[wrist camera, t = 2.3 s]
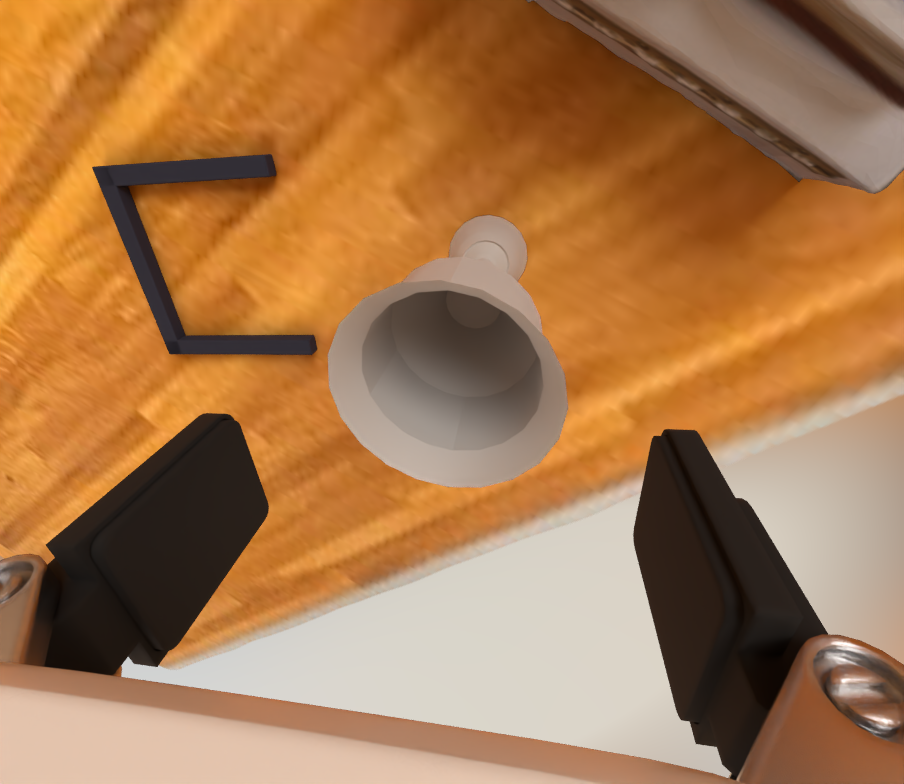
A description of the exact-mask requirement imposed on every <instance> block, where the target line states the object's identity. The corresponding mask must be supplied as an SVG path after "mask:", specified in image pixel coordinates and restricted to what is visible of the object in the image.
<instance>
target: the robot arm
mask: <svg viewBox="0 0 904 784" xmlns="http://www.w3.org/2000/svg"><path fill="white" fill-rule="evenodd" d="M268 509H269V505H268V501H267V499H266V496H265V493H264V490H263V488H262V485H261V482H260V479H259V476H258V474H257V471H256V468H255V465H254V463H253V460H252V457H251V454H250V451H249V449H248V446H247V443H246V440H245V437H244V435H243V432H242V429H241V426H240V424H239V423H238V422H237V421H235V420H234V418H233V417H232V416H231V415H228V414H212V413H206V414H202V415H200V416H199V417H197V418H196V419H195V420H194V421H193V422H191V423H190V424H189V425H188V426H187V427H185V428H184V429H183V430H182V431H181V432H180V433H178V434H177V435H176V436H175V437H174V438H172V439H171V440H170V441H169V442H168V443H166V444H165V445H164V446H163V447H162V448H160V449H159V450H158V451H157V452H156V453H155V454H153V455H152V456H151V457H150V458H149V459H147V460H146V461H145V462H144V463H143V464H141V465H140V466H139V467H138V468H137V469H135V470H134V471H133V472H132V473H131V474H129V475H128V476H127V477H126V478H125V479H124V480H122V481H121V482H120V483H119V484H118V485H116V486H115V487H114V488H113V489H112V490H110V491H109V492H108V493H107V494H106V495H104V496H103V497H102V498H101V499H100V500H99V501H97V502H96V503H95V504H94V505H93V506H91V507H90V508H89V509H88V510H87V511H85V512H84V513H83V514H82V515H81V516H79V517H78V518H77V519H76V520H75V521H73V522H72V523H71V524H70V525H69V526H68V527H66V528H65V529H64V530H63V531H62V532H60V533H59V534H58V535H57V536H56V537H54V538H53V539H52V540H51V541H50V542H48V543H47V544H46V546H47V547H48V549H49V550H50V551H51V553H52V554H53V555H54V557H55V559H53V560H52V561H51V562H50V563H49V564H48V565H47V564H46V562H45V561H44V560H43V559H42V558H41V557H40V556H38V555H33V554H23V555H16V556H13V557H9V558H6V559H3V560H0V784H904V665H903V664H902V663H900V662H899V661H897V660H895V659H894V658H892V657H891V656H889V655H888V654H886V653H885V652H883V651H882V650H880V649H877V648H875V647H873V646H871V645H869V644H866V643H864V642H862V641H860V640H856V639H852V638H849V637H845V636H841V635H828V633H827V631H826V630H825V628H824V627H823V625H822V623H821V621H820V620H819V618H818V617H817V615H816V613H815V612H814V610H813V608H812V606H811V605H810V603H809V601H808V600H807V598H806V597H805V595H804V593H803V591H802V590H801V588H800V587H799V585H798V583H797V582H796V580H795V578H794V577H793V575H792V573H791V572H790V570H789V568H788V567H787V565H786V563H785V562H784V560H783V558H782V557H781V555H780V553H779V552H778V550H777V548H776V547H775V545H774V543H773V542H772V540H771V538H770V537H769V535H768V533H767V532H766V530H765V528H764V527H763V525H762V523H761V522H760V520H759V518H758V517H757V515H756V513H755V512H754V510H753V509H752V507H751V506H750V505H749V503H748V502H747V501H745V500H744V499H742V498H735V496H734V495H733V493H732V491H731V489H730V488H729V486H728V484H727V482H726V481H725V479H724V477H723V475H722V474H721V472H720V470H719V468H718V467H717V465H716V463H715V461H714V460H713V458H712V456H711V454H710V453H709V451H708V449H707V447H706V446H705V444H704V442H703V440H702V439H701V437H700V435H699V434H698V432H697V431H695V430H673V429H665V430H664V431H663V433H662V435H661V436H654V437H653V438H652V442H651V446H650V451H649V456H648V461H647V466H646V471H645V476H644V481H643V486H642V491H641V496H640V501H639V506H638V511H637V516H636V521H635V526H634V535H633V536H634V546H635V550H636V554H637V558H638V562H639V566H640V570H641V574H642V578H643V582H644V585H645V589H646V593H647V597H648V601H649V605H650V609H651V613H652V617H653V621H654V625H655V629H656V633H657V636H658V640H659V644H660V648H661V652H662V656H663V660H664V664H665V668H666V672H667V676H668V680H669V683H670V687H671V691H672V695H673V699H674V703H675V707H676V710H677V713H678V716H679V717H680V719H681V720H684V721H690V724H691V727H692V731H693V735H694V739H695V742H696V744H701V745H707V746H714V747H717V749H718V752H719V755H720V758H721V761H722V765H724V766H725V767H726V768H727V769H728V770H729V771H730V772H731V773H730V775H729V778H726V777H722V776H719V775H716V774H713V773H708V772H704V771H700V770H695V769H691V768H687V767H682V766H678V765H673V764H669V763H664V762H660V761H656V760H651V759H646V758H640V757H634V756H629V755H623V754H617V753H611V752H606V751H599V750H594V749H588V748H583V747H577V746H571V745H565V744H560V743H553V742H548V741H542V740H537V739H530V738H523V737H517V736H511V735H505V734H498V733H492V732H485V731H479V730H472V729H466V728H459V727H452V726H446V725H439V724H434V723H427V722H421V721H414V720H408V719H401V718H395V717H388V716H382V715H375V714H369V713H362V712H355V711H348V710H342V709H335V708H328V707H322V706H315V705H309V704H301V703H295V702H288V701H282V700H275V699H268V698H262V697H255V696H248V695H241V694H235V693H228V692H221V691H214V690H208V689H201V688H194V687H187V686H180V685H173V684H165V683H158V682H152V681H145V680H138V679H131V678H124V677H121V671H122V667H121V665H122V664H123V662H124V661H125V660H126V658H127V657H128V656H129V658H130V659H131V660H132V662H133V663H134V664H140V665H147V666H155V667H158V665H159V664H160V662H161V661H162V660H163V658H164V657H165V655H166V654H167V652H168V651H169V650H172V649H173V648H175V647H176V646H177V645H178V644H179V642H180V641H181V640H182V638H183V637H184V635H185V634H186V632H187V631H188V630H189V628H190V627H191V625H192V624H193V622H194V621H195V619H196V618H197V617H198V615H199V614H200V612H201V611H202V609H203V608H204V607H205V605H206V604H207V602H208V601H209V599H210V598H211V596H212V595H213V594H214V592H215V591H216V589H217V588H218V586H219V585H220V584H221V582H222V581H223V579H224V578H225V576H226V575H227V573H228V572H229V571H230V569H231V568H232V566H233V565H234V563H235V562H236V560H237V559H238V558H239V556H240V555H241V553H242V552H243V550H244V549H245V548H246V546H247V545H248V543H249V542H250V540H251V539H252V537H253V536H254V535H255V533H256V532H257V530H258V529H259V527H260V526H261V525H262V523H263V522H264V520H265V519H266V517H267V514H268Z"/></svg>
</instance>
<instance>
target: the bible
mask: <svg viewBox="0 0 904 784" xmlns="http://www.w3.org/2000/svg"><path fill="white" fill-rule="evenodd" d="M526 1H527V2H528V3H529V2H531V1H535V2H536V3H538V4H539V5H540V6H541V7H543V8H544V9H545V10H546V11H547V12H548V13H550V14H551V15H553V16H554V17H556V18H557V19H560V20H562V21H564V22H565V21H568V22H569V23H571V24H572V25H574V26H575V27H577V28H578V29H579V30H581V31H582V32H584V33H585V34H587V35H589V36H591V37H592V38H594V39H595V40H597V41H599V42H600V43H601V44H602V45H604V46H605V47H606V48H607V49H609V50H610V51H611V52H613V53H614V54H615V55H617V56H618V57H620V58H622V59H624V60H626V61H627V62H629V63H631V64H633V65H635V66H636V67H638V68H640V69H642V70H643V71H645V72H647V73H648V74H650V75H651V76H652V77H654V78H655V79H657V80H658V81H659V82H661V83H663V84H664V85H666V86H668V87H670V88H672V89H674V90H675V91H677V92H679V93H681V94H682V95H683V96H684V97H685V98H686V99H688V100H690V101H692V102H693V103H694V104H695V105H696V106H697V107H699V108H701V109H703V110H705V111H706V113H707V112H708V113H707V114H709V115H710V116H712V117H714V118H715V119H716V120H718V121H719V122H721V123H722V124H723V125H725V126H726V127H727V128H729V129H730V130H731V131H732V133H734V134H736V135H738V136H740V137H742V138H744V139H745V140H746V141H748V142H749V143H750V144H751V145H753V146H754V147H756V148H757V149H758V150H760V151H761V152H762V153H763V154H764V155H765V156H767V157H769V158H771V159H773V160H775V161H776V162H777V163H779V164H780V165H781V166H782V167H783V168H784V169H786V170H787V171H788V172H789V173H790V174H791V175H792V176H793V177H794V178H795V179H796V180H797V181H798V182H800V180H801V179H802V178H806V179H814V180H822V181H827V182H831V183H834V184H838V185H844V186H849V187H853V188H856V189H860V190H864V191H866V192H868V193H874V194H875V193H878V192H880V191H882V190H883V189H885V188H887V187H888V186H889V185H890V184H891V183H892V181H893V180H894V179H895V178H896V177H897V176H898V175H899V174H900V173H901V172H902V171H903V170H904V0H526Z"/></svg>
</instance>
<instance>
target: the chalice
mask: <svg viewBox="0 0 904 784" xmlns="http://www.w3.org/2000/svg"><path fill="white" fill-rule="evenodd" d="M526 262H527V247H526V243H525V241H524V239H523V236H522V234H521V233H520V231H519V230H518V229H517V228H516V227H515V226H514V225H513V224H512V223H511V222H509V221H507V220H505V219H504V218H502V217H497V216H492V215H485V216H478V217H475V218H473V219H471V220H469V221H467V222H465V223H464V224H463V225H462V226H461V227H460V228H459V229H458V230H457V231H456V233H455V235H454V237H453V239H452V241H451V243H450V250H449V258H440V259H435V260H433V261H431V262H429V263H427V264H424V265H422V266H420V267H418V268H415V269H414V270H413V271H412V272H411V273H410V274H409V275H408V276H407V277H406V278H405V279H404V280H403V281H402V282H401V283H397V284H395V285H393V286H391V287H388V288H386V289H384V290H382V291H379V292H377V293H375V294H372V295H370V296H368V297H366V298H364V299H363V300H362V301H361V302H360V303H359V304H358V305H357V306H356V307H355V308H354V309H353V310H352V311H351V312H350V313H349V314H348V315H347V316H346V317H345V318H344V319H343V320H342V321H341V323H340V324H339V326H338V329H337V331H336V334H335V337H334V340H333V342H332V345H331V348H330V350H329V353H328V371H329V388H330V391H331V393H332V396H333V398H334V401H335V404H336V406H337V409H338V411H339V414H340V416H341V418H342V420H343V421H344V422H345V423H346V425H347V426H348V427H349V429H350V430H351V431H352V433H353V434H354V435H355V437H356V438H357V439H358V441H359V442H360V443H361V444H362V445H363V446H364V447H366V448H367V449H368V450H369V451H371V452H372V453H373V454H374V455H376V456H377V457H378V458H379V459H381V460H382V461H383V462H384V463H385V464H387V465H389V466H391V467H393V468H395V469H397V470H399V471H401V472H403V473H405V474H407V475H409V476H411V477H413V478H415V479H418V480H422V481H426V482H430V483H434V484H438V485H442V486H446V487H485V486H489V485H493V484H497V483H501V482H505V481H509V480H513V479H514V478H516V477H518V476H519V475H521V474H523V473H524V472H526V471H528V470H529V469H531V468H533V467H534V466H536V465H537V464H539V463H540V462H541V461H542V460H543V458H544V457H545V456H546V455H547V453H548V452H549V451H550V450H551V448H552V447H553V446H554V445H555V443H556V442H557V441H558V440H559V437H560V434H561V431H562V427H563V424H564V421H565V417H566V414H567V410H568V402H567V392H566V382H565V374H564V372H563V370H562V367H561V365H560V363H559V361H558V359H557V357H556V355H555V353H554V351H553V349H552V347H551V345H550V343H549V341H548V340H547V339H546V338H545V336H544V335H543V334H542V326H541V318H540V315H539V313H538V311H537V309H536V307H535V305H534V303H533V301H532V299H531V296H530V295H529V294H528V292H527V291H526V290H525V289H524V288H523V287H522V286H521V285H520V284H519V283H518V282H517V281H518V280H519V279H520V277H521V275H522V274H523V272H524V270H525V266H526Z"/></svg>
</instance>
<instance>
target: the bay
mask: <svg viewBox="0 0 904 784" xmlns="http://www.w3.org/2000/svg"><path fill="white" fill-rule="evenodd" d="M92 168H93V171H94V173H95V176H96V178H97V180H98V183H99V185H100V188H101V190H102V192H103V195H104V197H105V200H106V202H107V204H108V207H109V209H110V212H111V214H112V217H113V219H114V221H115V224H116V226H117V229H118V231H119V233H120V236H121V238H122V241H123V243H124V245H125V248H126V250H127V253H128V255H129V257H130V260H131V262H132V265H133V267H134V270H135V272H136V274H137V277H138V279H139V282H140V284H141V286H142V289H143V291H144V294H145V296H146V298H147V301H148V303H149V306H150V308H151V310H152V313H153V315H154V318H155V320H156V323H157V325H158V327H159V330H160V332H161V335H162V337H163V339H164V342H165V344H166V347H167V349H168V351H169V354H272V355H312V354H313V353H314V352H315V351H316V350H317V346H316V342H315V338H314V335H210V336H186V335H185V333H184V330H183V328H182V325H181V322H180V320H179V317H178V315H177V312H176V309H175V307H174V304H173V302H172V299H171V296H170V294H169V291H168V289H167V286H166V284H165V281H164V278H163V276H162V273H161V271H160V268H159V265H158V263H157V260H156V258H155V255H154V253H153V250H152V247H151V245H150V242H149V240H148V237H147V234H146V232H145V229H144V227H143V224H142V221H141V219H140V216H139V214H138V211H137V209H136V206H135V203H134V201H133V198H132V196H131V193H130V190H129V188H128V186H131V185H147V184H163V183H179V182H195V181H211V180H227V179H243V178H259V177H271V176H276V170H275V166H274V161H273V157H272V155H271V154H268V155H253V156H239V157H225V158H211V159H196V160H182V161H168V162H154V163H140V164H126V165H112V166H98V167H92Z"/></svg>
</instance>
